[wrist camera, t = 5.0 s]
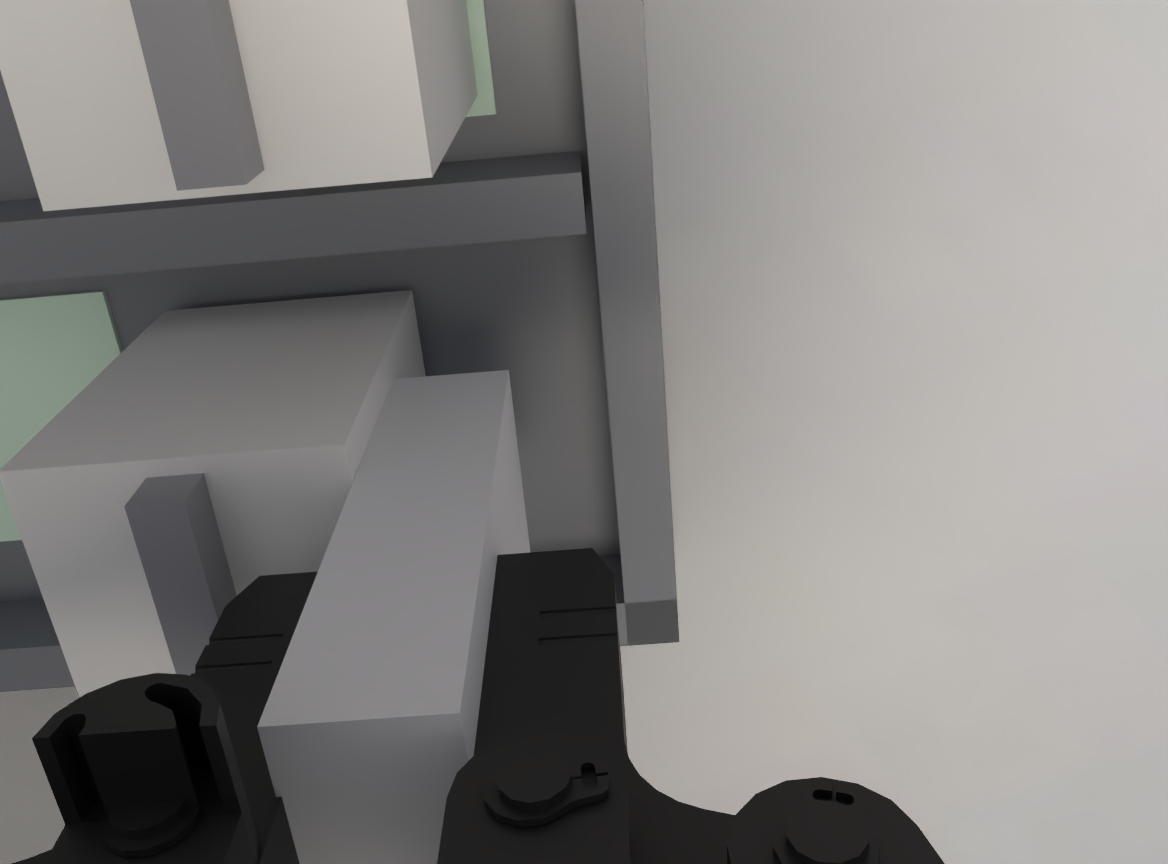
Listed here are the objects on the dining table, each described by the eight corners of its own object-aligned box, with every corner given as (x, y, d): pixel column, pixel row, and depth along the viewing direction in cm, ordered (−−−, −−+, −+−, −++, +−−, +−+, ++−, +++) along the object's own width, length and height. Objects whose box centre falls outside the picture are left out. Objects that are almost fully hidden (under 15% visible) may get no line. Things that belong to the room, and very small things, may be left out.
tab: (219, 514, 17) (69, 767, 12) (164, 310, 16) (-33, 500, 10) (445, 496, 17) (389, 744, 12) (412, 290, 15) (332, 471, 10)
